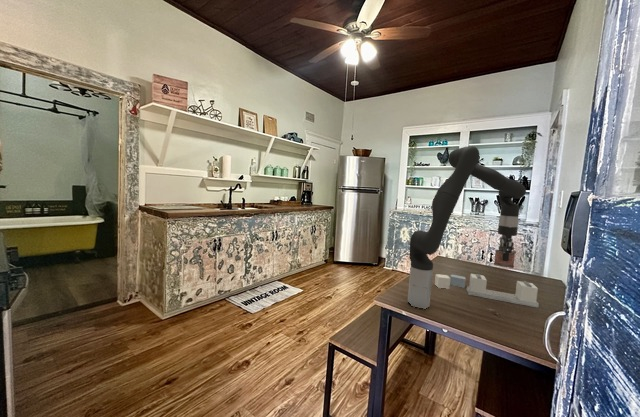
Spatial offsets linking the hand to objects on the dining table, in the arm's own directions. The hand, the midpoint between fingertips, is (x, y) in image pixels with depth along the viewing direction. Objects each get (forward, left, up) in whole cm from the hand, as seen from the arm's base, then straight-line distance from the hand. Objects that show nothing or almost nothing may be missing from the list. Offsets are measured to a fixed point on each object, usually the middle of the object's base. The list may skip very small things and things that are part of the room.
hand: (504, 259), depth 123 cm
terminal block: (+8, +18, -20) cm, 28 cm away
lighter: (0, 0, -3) cm, 3 cm away
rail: (0, 0, -19) cm, 19 cm away
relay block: (+1, +26, -20) cm, 32 cm away
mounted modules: (0, 0, -17) cm, 17 cm away
